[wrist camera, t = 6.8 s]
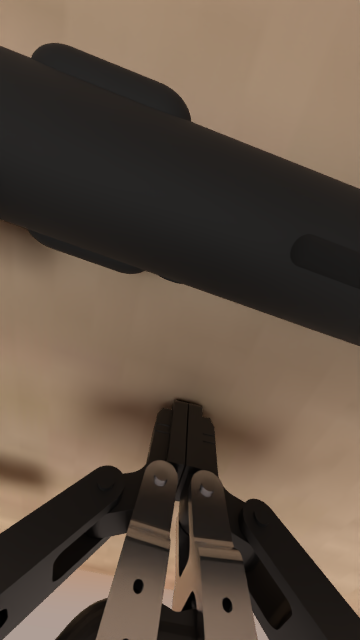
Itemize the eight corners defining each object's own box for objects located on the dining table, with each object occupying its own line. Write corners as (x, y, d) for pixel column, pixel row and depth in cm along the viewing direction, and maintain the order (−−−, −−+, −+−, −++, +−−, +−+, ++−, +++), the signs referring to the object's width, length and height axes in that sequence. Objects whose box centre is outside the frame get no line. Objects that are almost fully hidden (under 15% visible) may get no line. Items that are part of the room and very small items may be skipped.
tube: (615, 296, 10) (1032, 377, 5) (503, 396, 12) (717, 522, 7) (25, 63, 9) (-227, -159, 4) (15, 223, 11) (-149, 231, 6)
